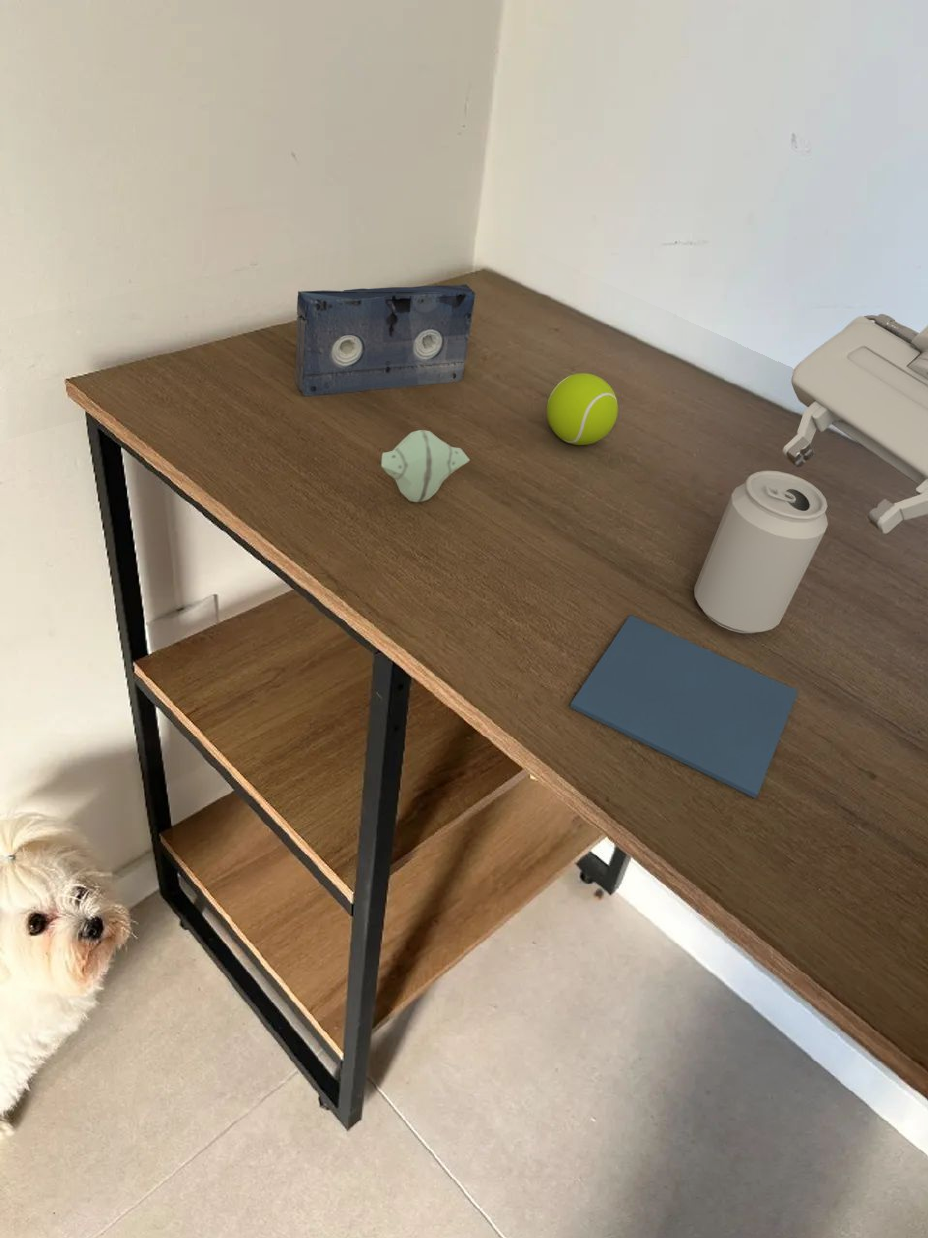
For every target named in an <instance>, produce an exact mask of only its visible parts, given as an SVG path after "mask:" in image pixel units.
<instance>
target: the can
mask: <svg viewBox="0 0 928 1238" xmlns="http://www.w3.org/2000/svg"><path fill="white" fill-rule="evenodd" d="M827 508H828V502H827V499H826V497H825V495H823V493H822V491H821V490H819V488H817V487H816V486H815V485H813V483H811V482H809V481H807V480H805V479H803V478H802V477H799V476H796V475H794V474H792V473H787V472H783V471H778V470H762V471H757V472H754V473H752V474H751V475H749V476H748V477H747V479H746V480H745V482H744V483H742V484H741V485H738V486H736V487H735V489H734V490H733V492H732V493H731V495H730V498H729V500H728V502H727V505H726V507H725V510H724V512H723V515H722V518H721V520H720V523H719V525H718V528H717V530H716V533H715V535H714V538H713V540H712V542H711V545H710V548H709V550H708V553H707V554H706V558H705V560H704V563H703V565H702V568H701V570H700V573H699V575H698V578H697V579H696V582H695V585H694V590H693V591H694V598H695V600H696V601H697V605H698V606H699V607H700V608H701V609H702V612H703V614H704V615H705V616H707V618H708V619H709V620H710V621H712V622H713V623H715V624H717V626H719V627H722V628H723V629H726V630H728V631H731V632H735V633H740V634H755V633H763V632H766V631H770V630H773V629H774V628H775V627H777V626H778V625H780V623H781V621H782V620H783V618H784V615H785V613H786V611H787V610H788V607H789V605H790V603H791V602H792V599H793V597H794V595H795V593H796V591H797V589H798V587H799V585H800V583H801V581H802V579H803V577H804V576H805V573H806V571H807V569H808V566H809V565H810V563H811V561H812V559H813V557H814V554H815V553H816V550H817V549H818V547H819V544H820V543H821V541H822V540H823V537H824V535H825V532H826V530H827V528H828V526H829V522H828V516H827V514H826V511H827Z"/></svg>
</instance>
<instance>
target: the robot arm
mask: <svg viewBox="0 0 928 1238" xmlns="http://www.w3.org/2000/svg"><path fill="white" fill-rule="evenodd" d="M791 386H792V388H793V391H794V394H795V395H796V398H797V399H798V401H799V402H800V403H801V404H802V405H804V406H805V407H807V408H806V409H804V410H803V413H802V417H801V420H800V423H799V424H798V425H799V426H798V429H797V432H796V435H795V436H794V437H792V439H791V440H789V442H787V443H786V444H785V445H784V446H783V448H782V454H783V456H784V458H785V459H786V460H787V461H789V462H790V463H791V464H793V465H794V466H796V467H797V468H801V467H803V466H804V465H805V463H806V461H809V460H811V458H813V457H814V455H815V451H814V449H813V448H812V445H811V444H812V441H813V438H814V436H815V434H816V431H819V433H823V432H824V431H826V430H827V429H828V428H830V426H831V425H832V426H834V427H835V428H837V429H838V430H839V431H841V432H842V433H844V434H845V435H846V436H848V437H849V438H851V439H852V440H853V441H855V442H857V443H858V444H859V445H860V446H862V447H863V448H865V449H866V450H868V451H869V452H871V453H872V454H873V455H875V456H876V457H877V458H879V459H881V460H882V461H883V462H885V463H886V464H888V465H889V466H890V467H892V468H893V469H895V470H896V471H897V472H899V473H900V474H902V475H903V476H905V477H906V478H907V479H909V480H910V481H912V482H913V483H914V484H916V485H918V486H917V487H916V488H915V490H916V494H917V495H914V496H911V497H908V498H906V499H903V500H900V501H896V502H894V503H892V502H891V501H889V500H888V499H887V498H884V499H882V500H881V501H880V502H879V503H878V504H877V507H873V508H872V509H871V510H870V511H869V512H868V515H867V519H868V522H869V523H870V524H871V525H872V526H873V527H874V528H876V529H877V530H879V531H880V532H881V533H882V534H883V535H886V534H888V533H890V532H891V531H892V530H893V529H894V528H896V526H897V525H899V524H900V523H901V522H902V521H903V520H904V521H907V520H911V519H914V518H918V517H922V516H927V515H928V325H927V326H925V327H924V328H923V329H922V330H921V331H920V332H917V331H915V330H914V329H912V328H911V327H908V326H906V325H904V324H901V323H900V322H898V321H896V319H894V318H893V317H891V316H889V315H887V314H885V313H880V314H878V315H874V314H870V315H869V314H868V315H860V316H857V317H856V318H854V319H853V320H852V321H851V322H849V323H848V324H847V325H846V326H845V327H844V328H843V329H842V330H840V331H839V332H838V333H836V334H835V335H833V336H832V337H830V338H829V339H828V340H827V341H825V342H823V344H821V345H820V346H818V347H817V348H816V349H814V350H813V351H812V352H810V353H809V354H808V355H807V356H806V357H804V359H802V360H801V361H800V362H799V363H798V364H796V366H795V367H794V368H793V370H792V375H791Z"/></svg>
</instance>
